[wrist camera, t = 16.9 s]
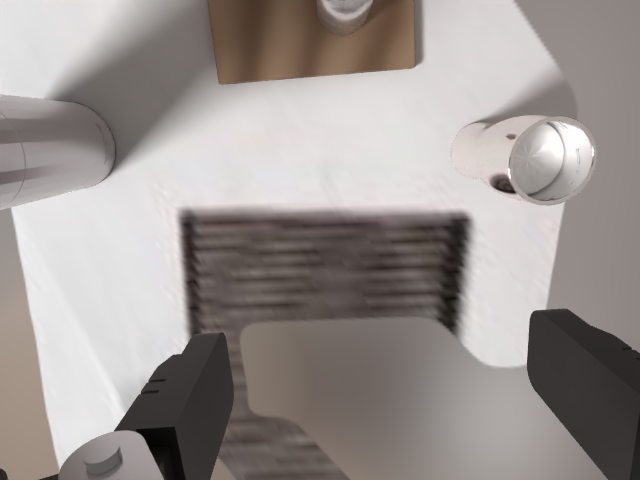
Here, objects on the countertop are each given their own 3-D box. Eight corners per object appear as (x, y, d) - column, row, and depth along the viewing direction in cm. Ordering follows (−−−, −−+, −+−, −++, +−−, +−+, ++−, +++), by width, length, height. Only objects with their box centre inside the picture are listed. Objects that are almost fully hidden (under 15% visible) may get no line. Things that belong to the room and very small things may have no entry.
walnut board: (221, 84, 43) (219, 83, 42) (204, -47, 40) (200, -52, 39) (412, 68, 42) (414, 66, 41) (409, -66, 39) (412, -72, 38)
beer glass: (454, 112, 44) (521, 105, 29) (517, 123, 44) (614, 121, 29) (439, 177, 45) (494, 200, 31) (499, 187, 46) (582, 214, 31)
